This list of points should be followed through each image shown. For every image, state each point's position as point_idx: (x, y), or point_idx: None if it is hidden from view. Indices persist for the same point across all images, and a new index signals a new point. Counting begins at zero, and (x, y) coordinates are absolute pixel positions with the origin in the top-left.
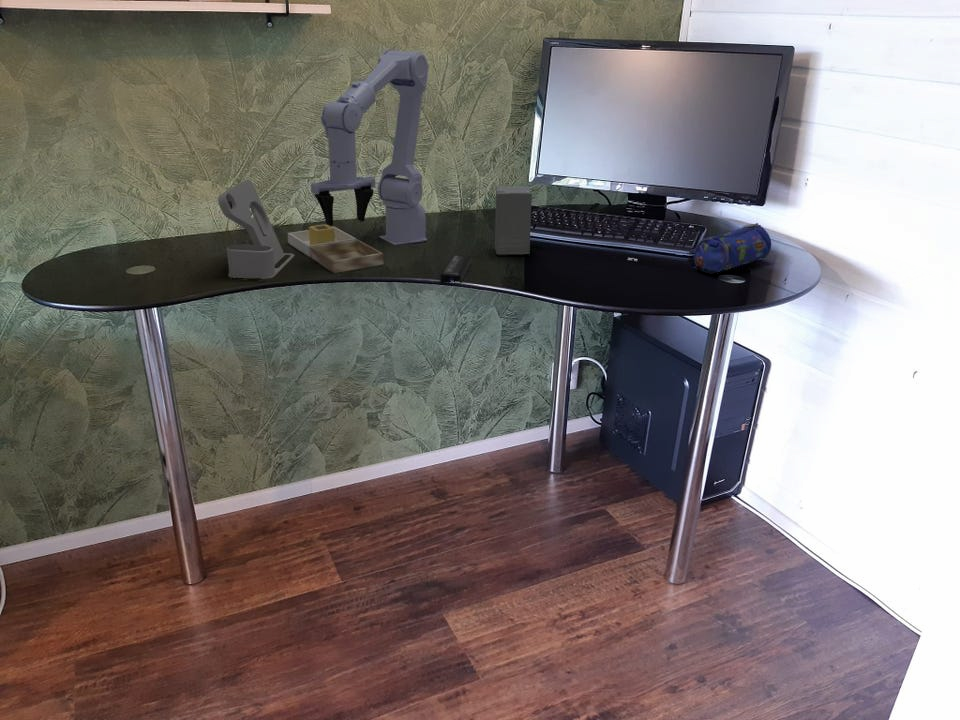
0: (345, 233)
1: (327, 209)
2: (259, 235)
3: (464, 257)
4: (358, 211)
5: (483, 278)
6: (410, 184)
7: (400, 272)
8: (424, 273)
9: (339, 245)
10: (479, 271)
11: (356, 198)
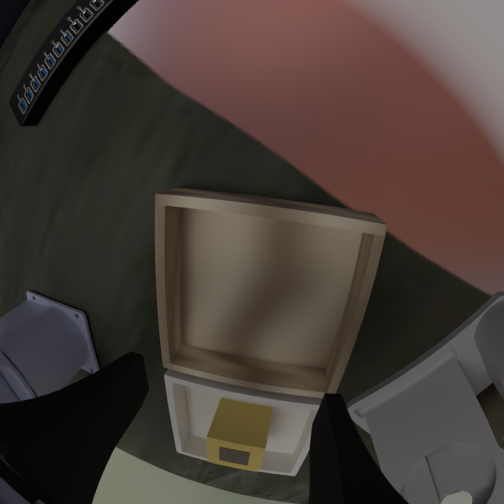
0: (173, 416)
1: (383, 474)
2: (477, 436)
3: (19, 92)
4: (125, 411)
5: (64, 4)
6: None
7: (168, 103)
8: (121, 67)
9: (234, 374)
10: (40, 46)
11: (98, 471)
